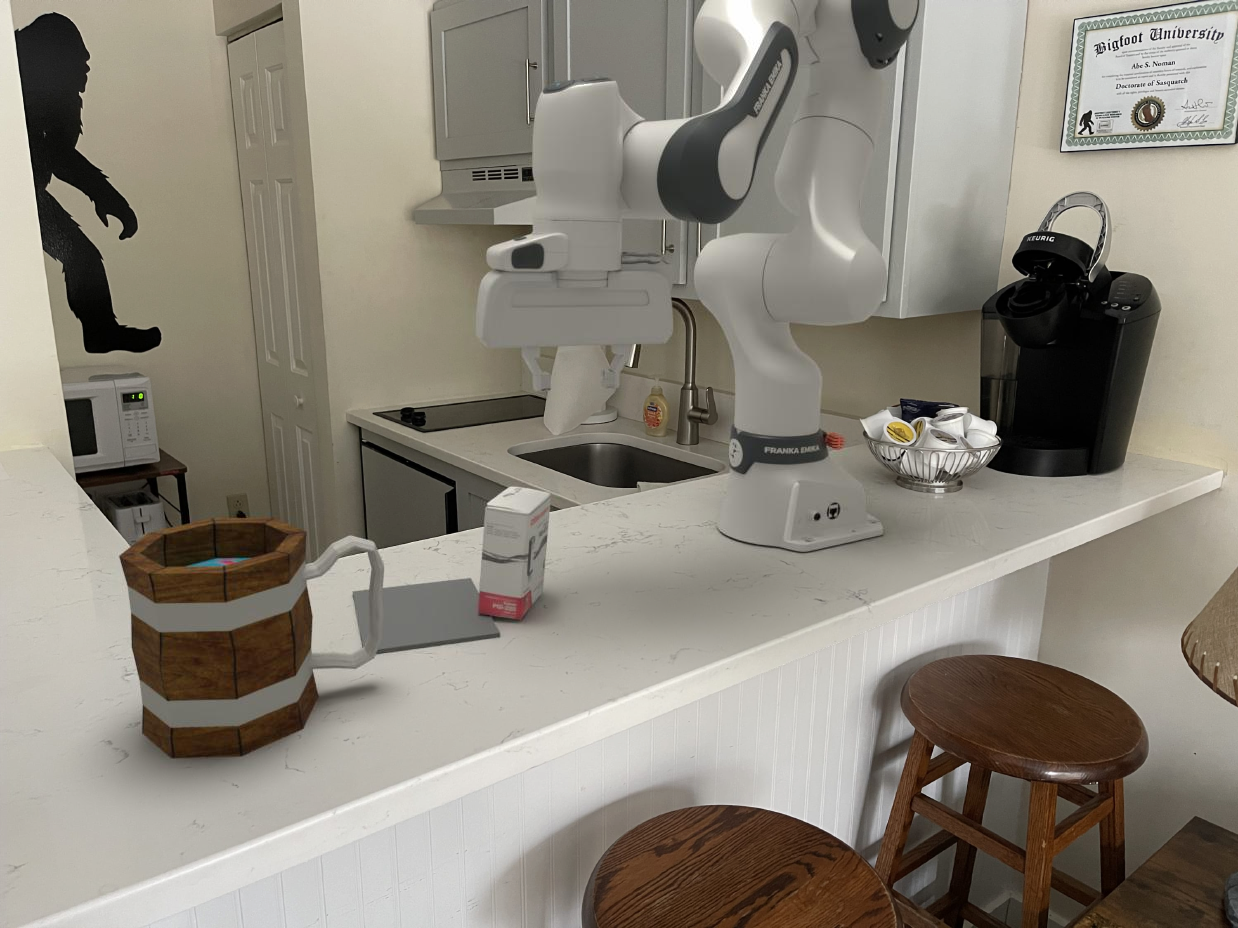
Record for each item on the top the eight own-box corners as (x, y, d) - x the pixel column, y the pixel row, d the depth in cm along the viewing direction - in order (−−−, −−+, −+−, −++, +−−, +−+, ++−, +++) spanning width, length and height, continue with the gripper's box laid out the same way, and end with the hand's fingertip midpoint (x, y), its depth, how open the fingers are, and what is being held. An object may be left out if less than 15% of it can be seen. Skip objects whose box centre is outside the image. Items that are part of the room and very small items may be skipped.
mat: (470, 581, 103) (470, 577, 102) (499, 636, 89) (499, 632, 89) (352, 594, 98) (352, 591, 98) (364, 655, 85) (364, 651, 85)
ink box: (523, 622, 92) (529, 511, 89) (476, 615, 93) (480, 504, 90) (546, 592, 100) (552, 489, 97) (503, 585, 101) (508, 484, 98)
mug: (141, 778, 65) (115, 588, 62) (142, 694, 77) (120, 528, 73) (409, 717, 74) (401, 547, 70) (373, 650, 86) (365, 500, 82)
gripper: (661, 251, 96) (657, 380, 99) (470, 249, 89) (473, 387, 92) (685, 253, 90) (680, 390, 93) (483, 251, 83) (486, 398, 87)
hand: (576, 389), depth 93 cm, fingers open, 6 cm apart
